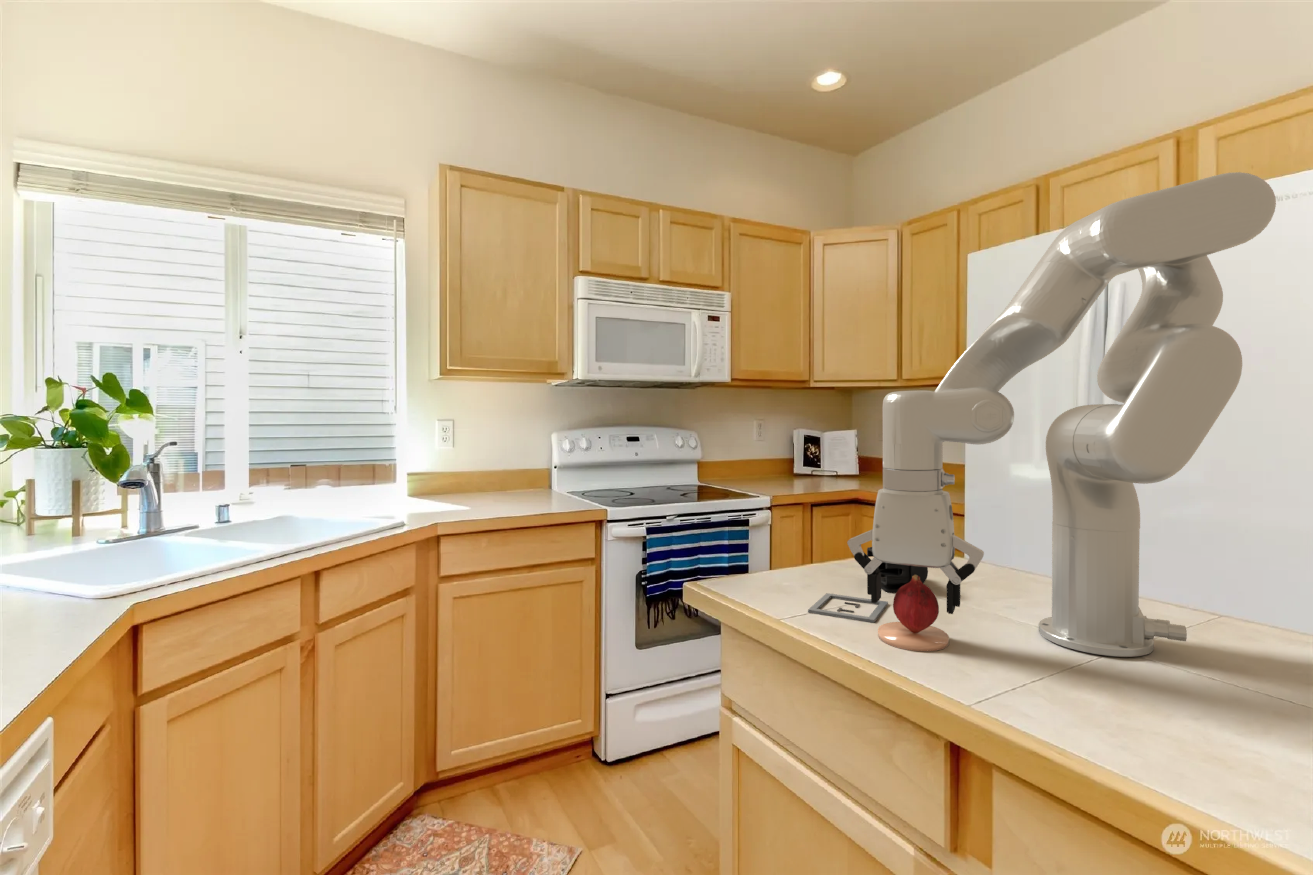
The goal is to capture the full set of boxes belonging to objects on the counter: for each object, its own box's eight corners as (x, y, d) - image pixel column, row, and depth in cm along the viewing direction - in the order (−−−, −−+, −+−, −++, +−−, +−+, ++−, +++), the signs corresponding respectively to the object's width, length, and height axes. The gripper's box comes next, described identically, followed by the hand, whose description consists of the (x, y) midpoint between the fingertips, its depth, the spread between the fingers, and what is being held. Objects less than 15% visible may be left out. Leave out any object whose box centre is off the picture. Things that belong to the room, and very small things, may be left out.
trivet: (952, 633, 86) (952, 628, 86) (944, 656, 78) (944, 650, 78) (885, 623, 90) (885, 617, 90) (871, 643, 83) (871, 637, 83)
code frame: (888, 604, 99) (888, 601, 99) (874, 622, 91) (874, 619, 91) (826, 595, 105) (826, 593, 105) (808, 612, 96) (808, 609, 96)
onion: (945, 641, 81) (947, 581, 81) (901, 640, 81) (903, 581, 81) (927, 625, 87) (928, 569, 87) (886, 625, 87) (887, 569, 87)
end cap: (928, 593, 105) (928, 554, 105) (887, 594, 105) (887, 555, 105) (903, 577, 115) (903, 541, 115) (866, 578, 115) (866, 542, 115)
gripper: (986, 481, 82) (985, 607, 83) (854, 476, 91) (855, 590, 92) (981, 487, 76) (981, 624, 76) (840, 481, 85) (841, 603, 86)
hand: (912, 605), depth 84 cm, fingers open, 9 cm apart
